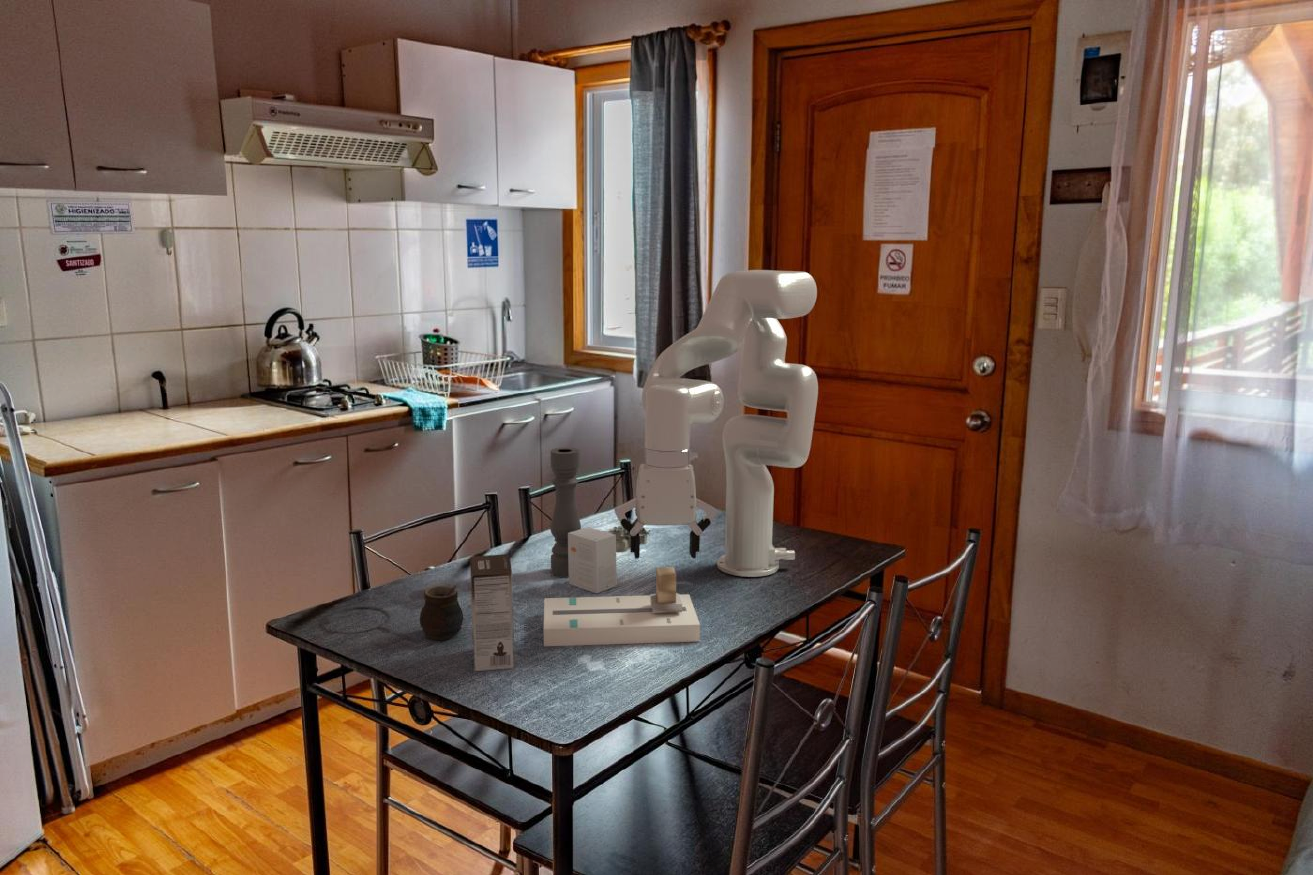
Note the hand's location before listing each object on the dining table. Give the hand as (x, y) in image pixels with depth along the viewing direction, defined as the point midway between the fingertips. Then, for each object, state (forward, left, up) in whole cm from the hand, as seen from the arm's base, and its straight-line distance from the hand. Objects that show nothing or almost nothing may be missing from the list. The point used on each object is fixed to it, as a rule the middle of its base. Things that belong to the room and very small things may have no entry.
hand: (664, 556), depth 170 cm
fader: (0, -1, -9) cm, 9 cm away
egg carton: (+4, -47, -14) cm, 49 cm away
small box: (+12, -22, -13) cm, 28 cm away
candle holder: (+17, -30, -13) cm, 36 cm away
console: (+8, -1, -13) cm, 15 cm away
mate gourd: (+38, 0, -13) cm, 40 cm away
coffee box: (+29, +10, -13) cm, 33 cm away
